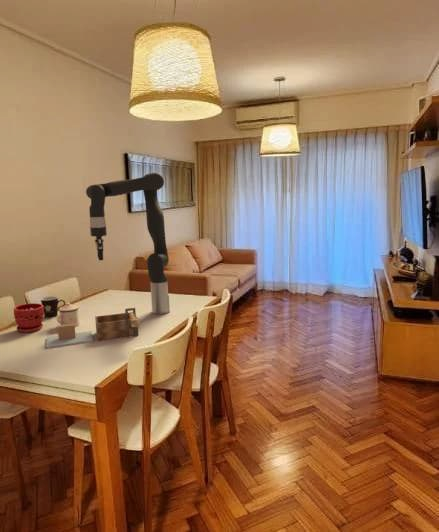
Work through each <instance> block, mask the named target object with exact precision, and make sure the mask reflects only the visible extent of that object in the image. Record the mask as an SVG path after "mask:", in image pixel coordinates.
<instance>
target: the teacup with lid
mask: <svg viewBox="0 0 439 532" xmlns="http://www.w3.org/2000/svg"><path fill="white" fill-rule="evenodd" d="M58 309H59V310H58V312H59V314H58V315H57V316H56V318H57V319H56V321H57V323H58V324H59V325H65V324H73V323H74V324H75V328H76V327H78V326H79V325H80V320H79V318H80V316H79V307H78V306H77V305H73V304H71V302H65V305H64V306H63V305H62V306H61V307H60V308H58Z"/></svg>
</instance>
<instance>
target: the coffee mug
mask: <svg viewBox="0 0 439 532" xmlns="http://www.w3.org/2000/svg"><path fill="white" fill-rule="evenodd" d="M59 302H63V305H62V307H63V306H65V305H66V302H65V301H64V300H63V299H60V300H59V297H58V296H53V295H52V296H45V297H42V298H40V304H42V305H43V307H44V315H43V317H44V318H45V319H48V318H49V319H51V318H55V317H56V318H57V317H58V312H59V309H60V308H59V306H58V305H59Z"/></svg>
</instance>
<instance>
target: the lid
mask: <svg viewBox="0 0 439 532" xmlns="http://www.w3.org/2000/svg"><path fill="white" fill-rule="evenodd" d="M57 334H58V335H52V336H47V337H46V343H45V349H46V350H47V349H54V348H60V347H67V346H74V345H75V346H76V345H80V344H88V343H93V342H94V337H93V334H92V330H90V331H88V330H87V331H81V332H76V327H75V324H74V323H73V324H65V325H61V324H59V325H57Z"/></svg>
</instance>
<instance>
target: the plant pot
mask: <svg viewBox="0 0 439 532" xmlns="http://www.w3.org/2000/svg"><path fill="white" fill-rule="evenodd" d="M13 315H14V316H13V317H14V319H15V322H16V325H17V326H16V330H17V331H18V332H19V333H32V332H36V331H37V332H38V331H39V330H41V329H42V327H43V326H44V325H43V323H42V322H43V320H44V307H43V305H42V303H36V302H35V303H33V302H32V303H31V302H30V303H23V304H18V305H16V306H14V307H13Z"/></svg>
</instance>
